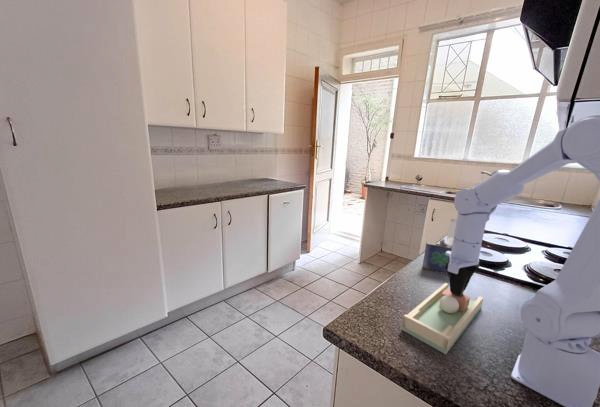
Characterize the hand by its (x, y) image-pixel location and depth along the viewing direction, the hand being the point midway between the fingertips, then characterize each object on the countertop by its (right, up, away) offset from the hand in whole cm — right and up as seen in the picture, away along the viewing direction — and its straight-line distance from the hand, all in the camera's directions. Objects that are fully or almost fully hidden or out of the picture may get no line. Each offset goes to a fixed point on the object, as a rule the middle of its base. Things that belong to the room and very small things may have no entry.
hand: (457, 291), depth 66 cm
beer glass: (+16, +1, +28) cm, 32 cm away
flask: (+6, -1, +21) cm, 22 cm away
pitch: (-5, -5, -3) cm, 8 cm away
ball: (-4, -2, -3) cm, 5 cm away
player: (-1, -3, 0) cm, 3 cm away
